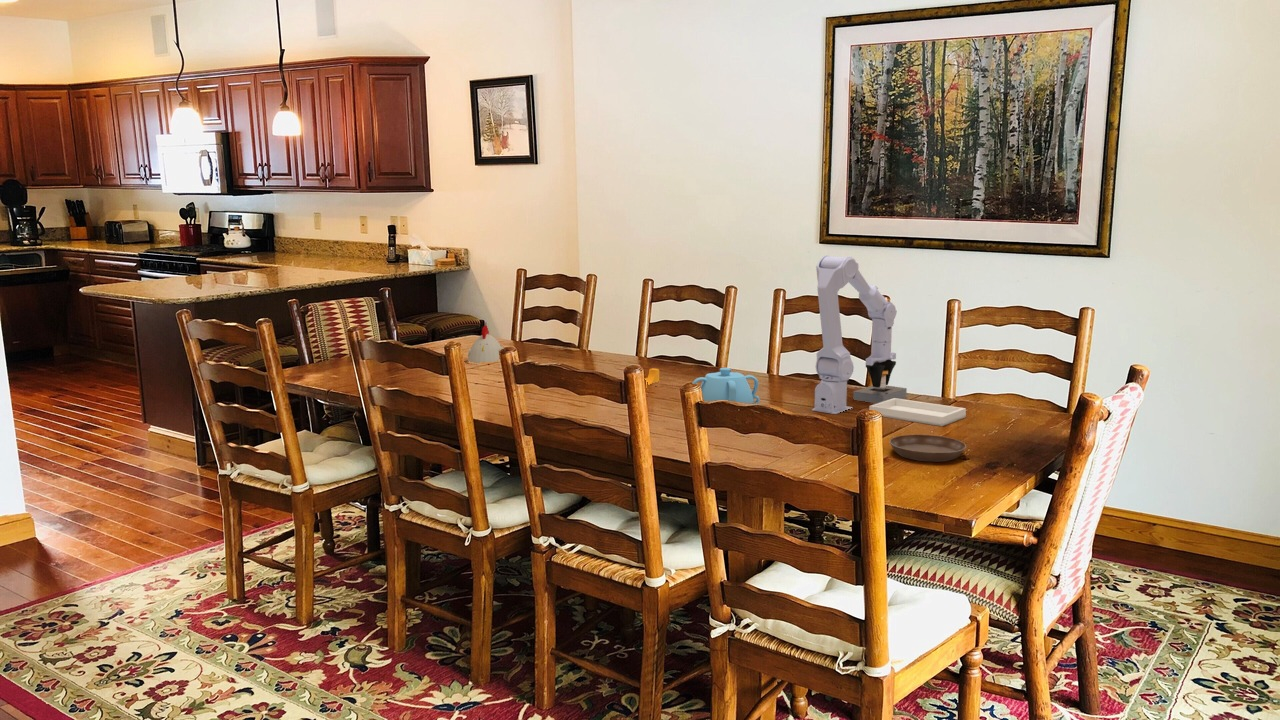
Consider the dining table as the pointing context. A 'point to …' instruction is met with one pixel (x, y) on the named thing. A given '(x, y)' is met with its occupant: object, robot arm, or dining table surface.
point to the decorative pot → (728, 386)
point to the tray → (919, 411)
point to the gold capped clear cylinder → (882, 382)
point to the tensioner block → (879, 394)
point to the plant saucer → (927, 447)
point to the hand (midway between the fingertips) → (880, 385)
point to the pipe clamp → (652, 376)
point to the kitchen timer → (484, 348)
